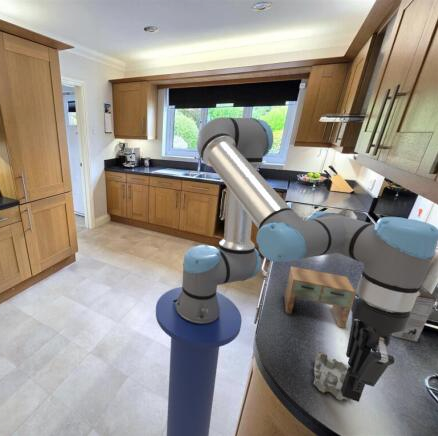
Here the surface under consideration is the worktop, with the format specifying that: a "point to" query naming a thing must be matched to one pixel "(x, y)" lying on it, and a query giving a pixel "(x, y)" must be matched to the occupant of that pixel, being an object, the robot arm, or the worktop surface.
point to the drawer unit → (320, 291)
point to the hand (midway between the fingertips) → (349, 395)
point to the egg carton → (329, 375)
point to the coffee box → (417, 316)
